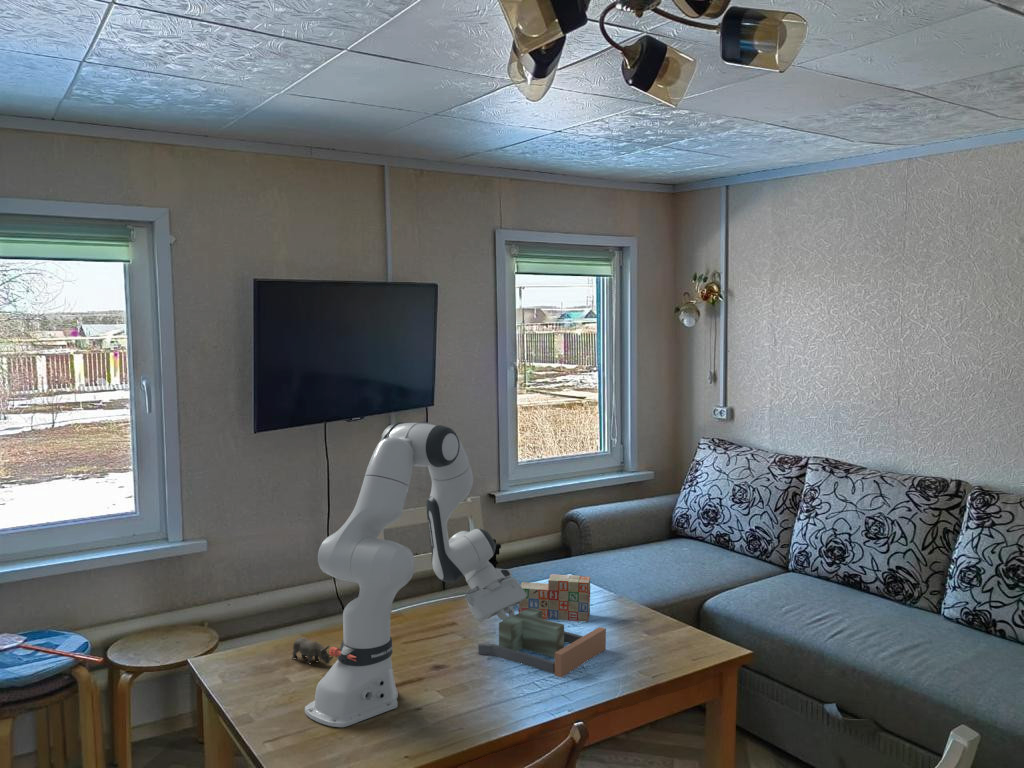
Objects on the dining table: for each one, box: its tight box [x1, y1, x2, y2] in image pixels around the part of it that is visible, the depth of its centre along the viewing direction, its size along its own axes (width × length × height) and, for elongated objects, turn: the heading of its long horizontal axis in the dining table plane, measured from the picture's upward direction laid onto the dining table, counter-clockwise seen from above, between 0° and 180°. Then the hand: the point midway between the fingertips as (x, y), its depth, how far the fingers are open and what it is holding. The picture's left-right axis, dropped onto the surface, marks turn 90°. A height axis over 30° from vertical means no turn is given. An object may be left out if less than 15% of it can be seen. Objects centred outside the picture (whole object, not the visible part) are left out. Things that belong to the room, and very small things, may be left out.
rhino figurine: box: [291, 636, 334, 665], centre depth 218 cm, size 4×14×6 cm, turn 58°
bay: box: [477, 626, 607, 678], centre depth 225 cm, size 24×27×6 cm
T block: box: [498, 608, 565, 659], centre depth 227 cm, size 15×15×8 cm
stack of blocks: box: [518, 573, 591, 623], centre depth 252 cm, size 21×6×12 cm, turn 79°
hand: (513, 623), depth 231 cm, fingers closed, pressing on T block
